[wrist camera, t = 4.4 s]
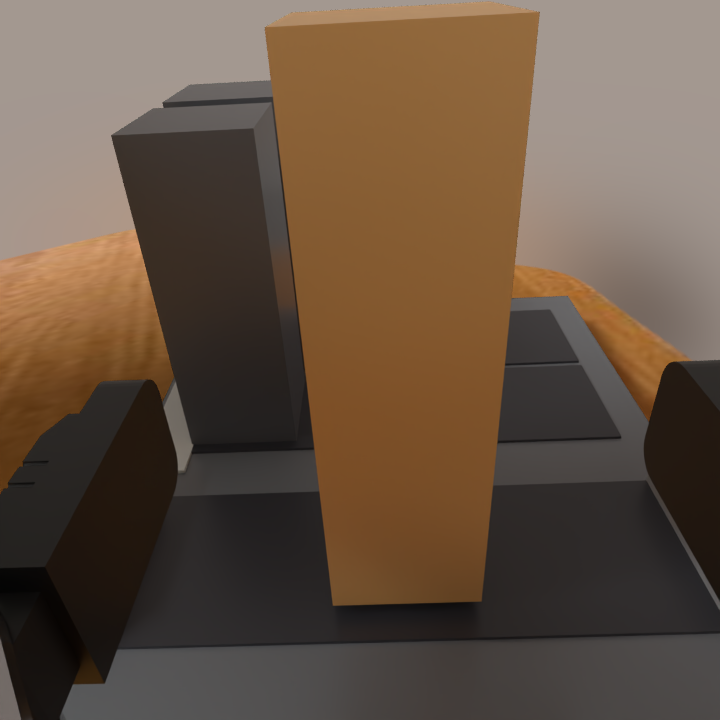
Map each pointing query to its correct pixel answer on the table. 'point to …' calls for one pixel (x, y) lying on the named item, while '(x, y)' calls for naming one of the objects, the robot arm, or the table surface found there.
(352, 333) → the tall tan rectangular block
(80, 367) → the table surface
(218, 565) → the grey slotted tray
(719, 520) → the robot arm
